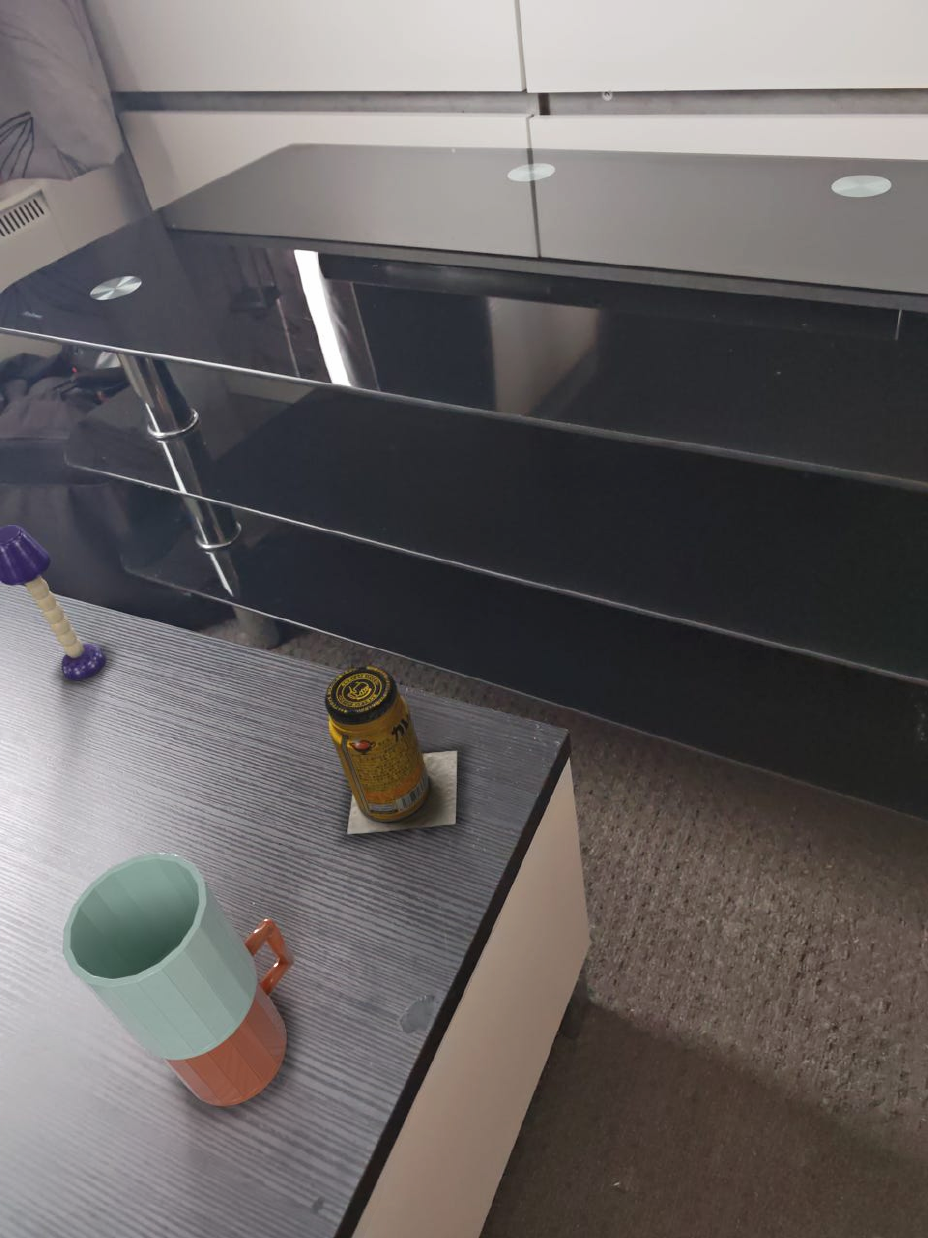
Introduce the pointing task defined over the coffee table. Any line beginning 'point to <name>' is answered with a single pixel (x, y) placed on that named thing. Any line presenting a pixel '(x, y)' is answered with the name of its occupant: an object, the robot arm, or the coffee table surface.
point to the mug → (244, 1038)
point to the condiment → (387, 757)
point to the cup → (161, 956)
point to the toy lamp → (45, 599)
